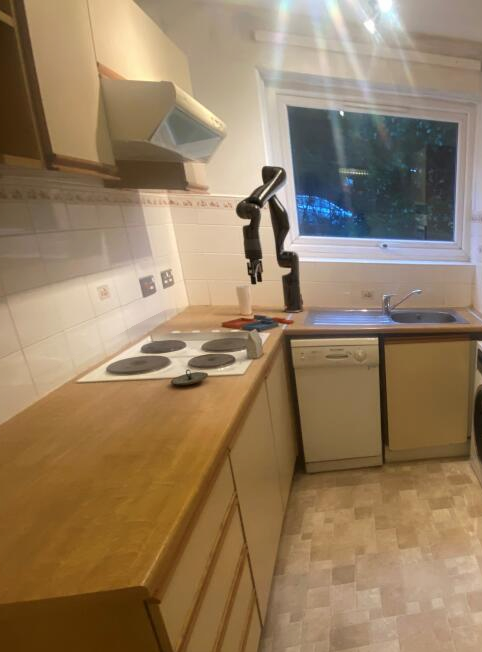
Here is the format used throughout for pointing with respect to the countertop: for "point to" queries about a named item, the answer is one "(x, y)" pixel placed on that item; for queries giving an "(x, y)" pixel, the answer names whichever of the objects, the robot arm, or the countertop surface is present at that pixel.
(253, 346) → the grey stone block
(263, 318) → the slate spoon
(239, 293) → the drinking glass
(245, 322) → the terracotta tray
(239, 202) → the robot arm
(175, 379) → the lid
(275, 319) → the terracotta spoon
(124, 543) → the countertop surface
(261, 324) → the slate tray
